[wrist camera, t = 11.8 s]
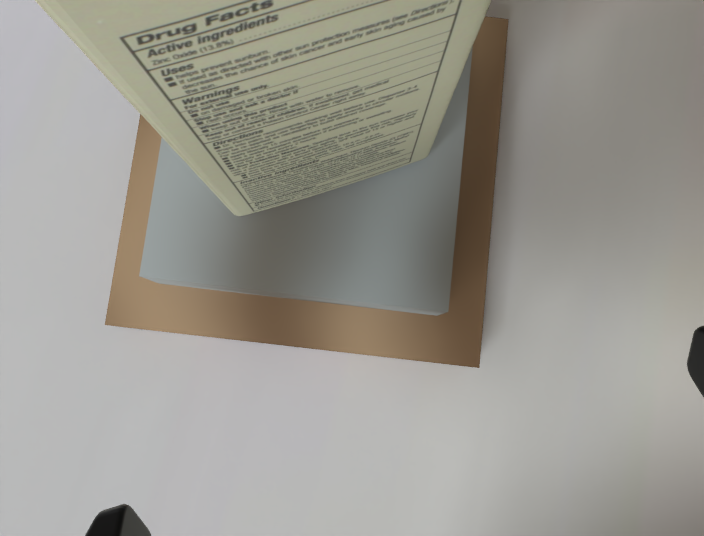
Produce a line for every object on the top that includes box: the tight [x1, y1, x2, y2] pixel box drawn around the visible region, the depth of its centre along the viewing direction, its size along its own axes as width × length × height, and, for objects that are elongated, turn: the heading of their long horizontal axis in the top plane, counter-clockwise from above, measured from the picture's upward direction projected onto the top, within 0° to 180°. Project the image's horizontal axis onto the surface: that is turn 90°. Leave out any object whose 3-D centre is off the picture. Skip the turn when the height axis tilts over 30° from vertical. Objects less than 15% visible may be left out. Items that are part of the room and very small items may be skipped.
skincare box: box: [35, 0, 491, 216], centre depth 12 cm, size 6×4×12 cm
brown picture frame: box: [105, 16, 508, 368], centre depth 20 cm, size 12×12×4 cm
